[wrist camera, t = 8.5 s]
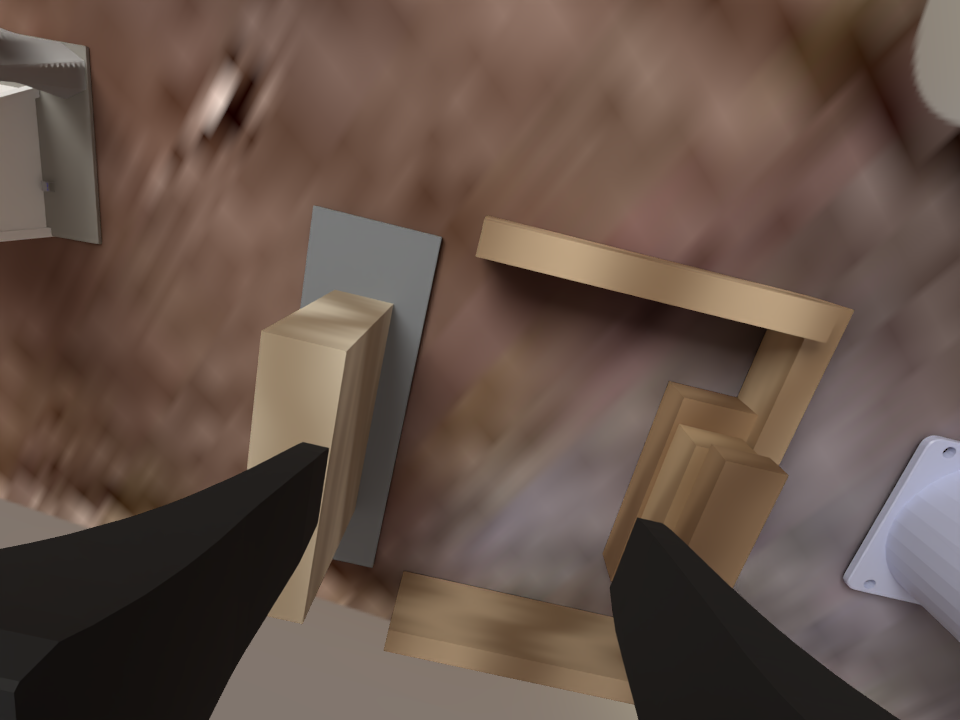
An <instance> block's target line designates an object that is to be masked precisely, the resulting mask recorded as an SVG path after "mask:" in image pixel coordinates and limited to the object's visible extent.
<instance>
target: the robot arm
mask: <svg viewBox="0 0 960 720" xmlns="http://www.w3.org/2000/svg"><path fill="white" fill-rule="evenodd" d="M946 448H948V449H947V450H946V451H945V452H944V453H943V451H944V450H945V449H946ZM328 453H329V448H328V447H323V446H319V445H314V444H310V443H306V442H302V443H299V444H297V445H295V446H293V447H291V448H289V449H287V450H285V451H283V452H281V453H280V454H278V455H276V456H274V457H272V458H270V459H268V460H266V461H264V462H262V463H260V464H258V465H256V466H254V467H252V468H250V469H248V470H246V471H244V472H242V473H240V474H238V475H236V476H234V477H232V478H229V479H227V480H225V481H223V482H220V483H218V484H216V485H213V486H211V487H209V488H207V489H204V490H202V491H200V492H198V493H195V494H193V495H191V496H188V497H186V498H183V499H181V500H178V501H175V502H173V503H170V504H167V505H165V506H162V507H159V508H156V509H153V510H150V511H147V512H144V513H141V514H138V515H135V516H132V517H129V518H126V519H122V520H119V521H115V522H111V523H108V524H104V525H100V526H97V527H93V528H90V529H86V530H83V531H79V532H75V533H72V534H68V535H63V536H59V537H55V538H50V539H46V540H42V541H37V542H33V543H29V544H23V545H18V546H13V547H8V548H3V549H0V720H209V718H210V716H211V714H212V712H213V710H214V708H215V706H216V704H217V702H218V700H219V698H220V696H221V694H222V692H223V690H224V688H225V686H226V684H227V682H228V680H229V678H230V677H231V675H232V673H233V671H234V669H235V668H236V666H237V664H238V662H239V661H240V659H241V657H242V655H243V654H244V652H245V650H246V649H247V647H248V645H249V644H250V642H251V640H252V639H253V637H254V636H255V634H256V633H257V631H258V629H259V628H260V626H261V625H262V623H263V621H264V620H265V618H266V617H267V615H268V613H269V612H270V610H271V609H272V607H273V605H274V604H275V602H276V601H277V599H278V597H279V596H280V594H281V592H282V591H283V589H284V588H285V586H286V584H287V583H288V581H289V579H290V578H291V576H292V575H293V573H294V571H295V570H296V568H297V566H298V565H299V563H300V561H301V559H302V557H303V555H304V553H305V550H306V548H307V546H308V544H309V542H310V540H311V537H312V535H313V533H314V531H315V529H316V526H317V524H318V520H319V513H320V506H321V500H322V493H323V486H324V480H325V473H326V466H327V460H328ZM843 579H844V582H845V583H846V584H847V585H848V586H849V587H850V588H851V589H854V590H858V591H862V592H867V593H871V594H875V595H880V596H884V597H888V598H893V599H897V600H902V601H906V602H910V603H915V604H919V605H922V606H923V607H924V608H925V609H926V610H927V611H928V612H929V613H930V614H931V615H932V616H933V617H934V618H935V619H936V620H937V621H938V622H939V623H940V624H941V625H942V626H943V627H945V628H946V629H947V630H948V631H949V632H950V633H951V634H952V635H953V636H954V637H955V638H956V639H957V640H958V641H959V642H960V441H957V440H953V439H949V438H945V437H941V436H935V435H932V436H929V437H927V438H925V439H923V440H922V442H921V443H920V444H919V446H918V448H917V450H916V451H915V453H914V455H913V457H912V458H911V460H910V462H909V463H908V465H907V467H906V469H905V470H904V472H903V474H902V475H901V477H900V479H899V481H898V482H897V484H896V486H895V488H894V489H893V491H892V493H891V494H890V496H889V498H888V500H887V501H886V503H885V505H884V506H883V508H882V510H881V512H880V513H879V515H878V517H877V519H876V520H875V522H874V524H873V525H872V527H871V529H870V531H869V532H868V534H867V536H866V538H865V539H864V541H863V543H862V544H861V546H860V548H859V550H858V551H857V553H856V555H855V556H854V558H853V560H852V562H851V563H850V565H849V567H848V569H847V570H846V572H845V574H844V576H843ZM867 580H868V581H867ZM866 581H867V582H866ZM610 593H611V602H612V611H613V618H614V625H615V632H616V636H617V640H618V644H619V648H620V652H621V656H622V660H623V663H624V667H625V671H626V675H627V679H628V682H629V686H630V690H631V693H632V697H633V701H634V705H635V708H636V712H637V716H638V720H900V719H898V718H896V717H895V716H893V715H892V714H891V713H889V712H888V711H886V710H885V709H883V708H882V707H880V706H879V705H878V704H876V703H875V702H873V701H872V700H870V699H869V698H867V697H866V696H864V695H863V694H862V693H860V692H859V691H857V690H856V689H854V688H853V687H852V686H850V685H849V684H847V683H846V682H845V681H843V680H842V679H841V678H839V677H838V676H836V675H835V674H834V673H832V672H831V671H830V670H828V669H827V668H826V667H825V666H823V665H822V664H821V663H819V662H818V661H817V660H816V659H814V658H813V657H812V656H810V655H809V654H808V653H807V652H805V651H804V650H803V649H802V648H800V647H799V646H798V645H796V644H795V643H794V642H793V641H792V640H790V639H789V638H788V637H787V636H785V635H784V634H783V633H782V632H781V631H779V630H778V629H777V628H776V627H775V626H774V625H773V624H771V623H770V622H769V621H768V620H767V619H766V618H765V617H763V616H762V615H761V614H760V613H759V612H758V611H757V610H755V609H754V608H753V607H752V606H751V605H750V604H749V603H748V602H747V601H746V600H744V599H743V598H742V597H741V596H740V595H739V594H738V593H737V592H736V591H735V590H734V589H733V588H732V587H730V586H729V585H728V584H727V583H726V582H725V581H724V580H723V579H722V578H721V577H720V576H719V575H718V574H717V573H716V572H715V571H714V570H713V569H712V568H711V567H710V566H709V565H708V564H707V563H705V562H704V561H703V560H702V559H701V558H700V557H699V556H698V555H697V554H696V553H695V552H694V551H693V550H692V549H691V548H690V547H689V546H688V545H687V544H686V543H685V542H684V541H683V540H682V539H681V538H679V537H678V536H677V535H676V534H675V533H674V532H673V531H672V530H671V529H669V528H668V527H667V526H666V525H664V524H663V523H660V522H655V521H651V520H646V519H642V518H638V517H637V519H636V522H635V524H634V527H633V529H632V532H631V534H630V537H629V540H628V542H627V545H626V547H625V550H624V552H623V555H622V558H621V560H620V563H619V565H618V568H617V570H616V573H615V576H614V578H613V581H612V583H611V586H610Z"/></svg>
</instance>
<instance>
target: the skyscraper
mask: <svg viewBox="0 0 960 720" xmlns="http://www.w3.org/2000/svg"><path fill="white" fill-rule="evenodd" d="M45 237H61V238H66V239H72V240H78V241H83V242H89V243H95V244H102V240H101V225H100V210H99V195H98V180H97V165H96V149H95V134H94V119H93V104H92V89H91V74H90V59H89V47H86V46H82V45H76V44H71V43H66V42H60V41H55V40H49V39H44V38H38V37H33V36H27V35H22V34H16V33H13V32H10V31H7V30H4V29H2V28H0V242H4V241H14V240H25V239H35V238H45Z"/></svg>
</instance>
